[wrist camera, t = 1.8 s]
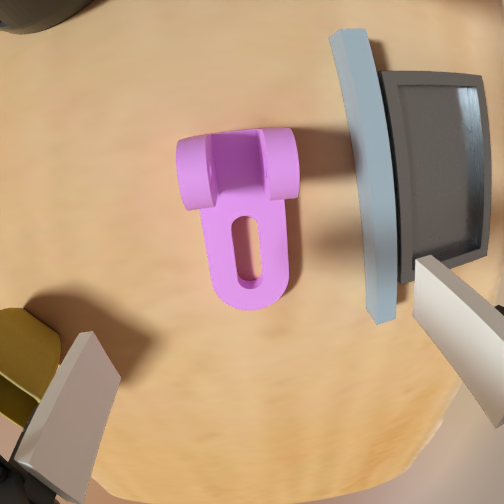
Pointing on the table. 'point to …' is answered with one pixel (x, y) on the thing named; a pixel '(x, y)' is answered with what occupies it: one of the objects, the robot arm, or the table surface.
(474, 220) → the shallow rectangular tray
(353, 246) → the table surface
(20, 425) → the flower pot
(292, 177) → the bracket
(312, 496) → the table surface
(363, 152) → the door edge
